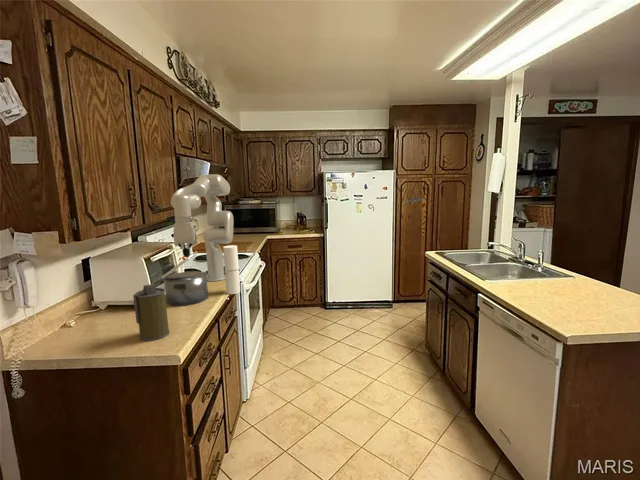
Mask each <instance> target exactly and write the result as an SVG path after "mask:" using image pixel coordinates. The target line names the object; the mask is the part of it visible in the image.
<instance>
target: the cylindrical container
mask: <svg viewBox="0 0 640 480" xmlns="http://www.w3.org/2000/svg"><path fill="white" fill-rule="evenodd" d="M222 251H223V265H224V275H225V278H226V279H225V288H226V289H225V291H226V294H228V295H235V294H239V293H241V283H240V282H241V281H240V271H239V256H238V255H239V254H238V252H239V251H238V245H226V246H223V247H222Z"/></svg>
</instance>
